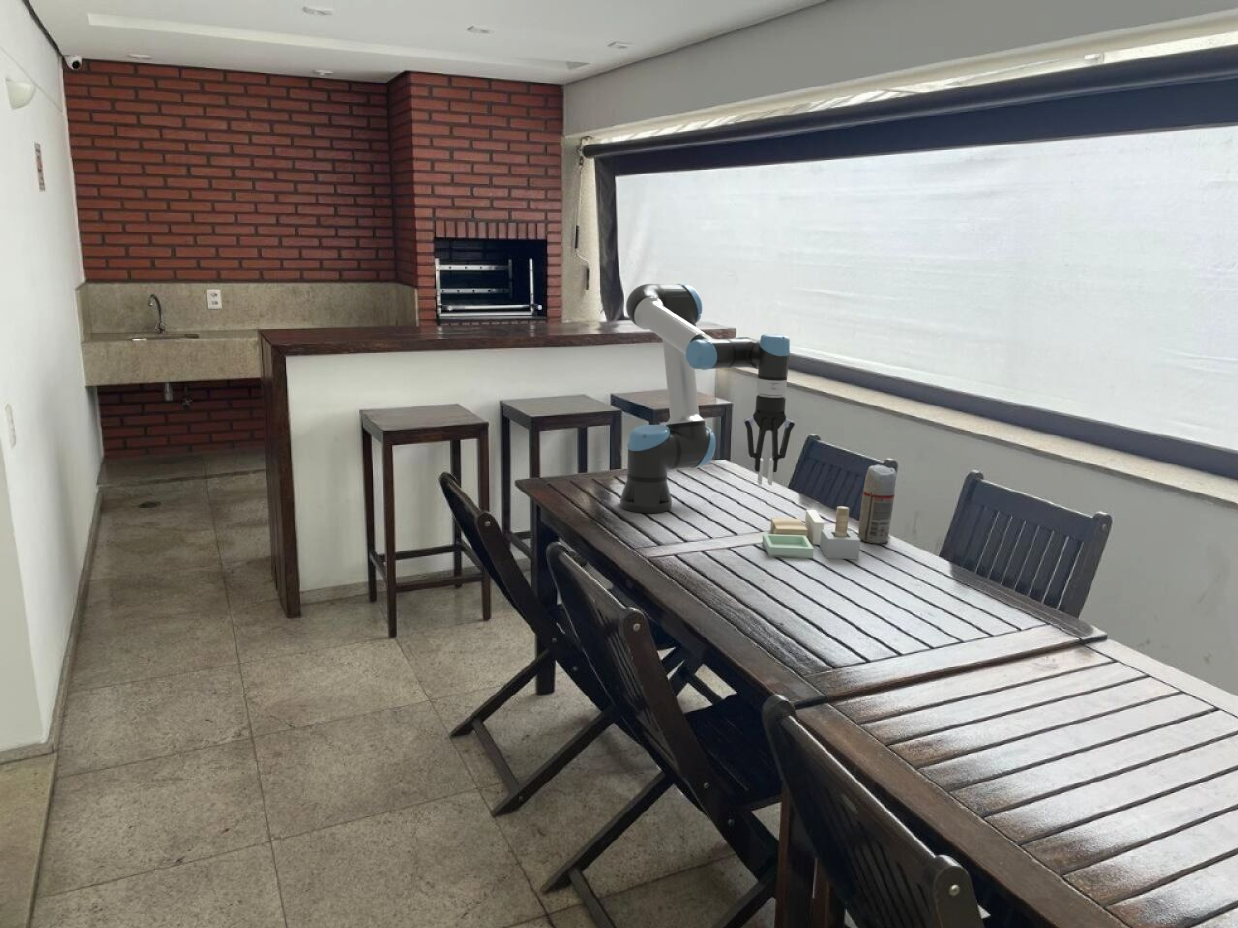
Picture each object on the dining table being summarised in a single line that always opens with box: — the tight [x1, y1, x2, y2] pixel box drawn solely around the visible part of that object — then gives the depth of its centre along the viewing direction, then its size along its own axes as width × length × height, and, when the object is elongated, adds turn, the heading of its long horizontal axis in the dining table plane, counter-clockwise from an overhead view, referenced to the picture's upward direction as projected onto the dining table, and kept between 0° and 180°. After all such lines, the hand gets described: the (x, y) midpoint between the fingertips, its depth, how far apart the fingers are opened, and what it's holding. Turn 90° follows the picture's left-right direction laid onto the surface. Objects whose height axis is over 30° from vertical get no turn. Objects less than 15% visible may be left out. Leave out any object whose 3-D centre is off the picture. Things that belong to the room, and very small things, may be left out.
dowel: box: [834, 506, 850, 537], centre depth 244 cm, size 3×3×12 cm
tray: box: [762, 533, 815, 559], centre depth 246 cm, size 11×11×2 cm
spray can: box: [857, 463, 898, 544], centre depth 256 cm, size 8×8×20 cm
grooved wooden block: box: [769, 517, 808, 538], centre depth 257 cm, size 10×8×4 cm
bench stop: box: [804, 509, 825, 546], centre depth 257 cm, size 12×2×6 cm, turn 0°
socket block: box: [819, 529, 861, 560], centre depth 245 cm, size 8×8×5 cm
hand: (764, 483), depth 254 cm, fingers open, 2 cm apart
